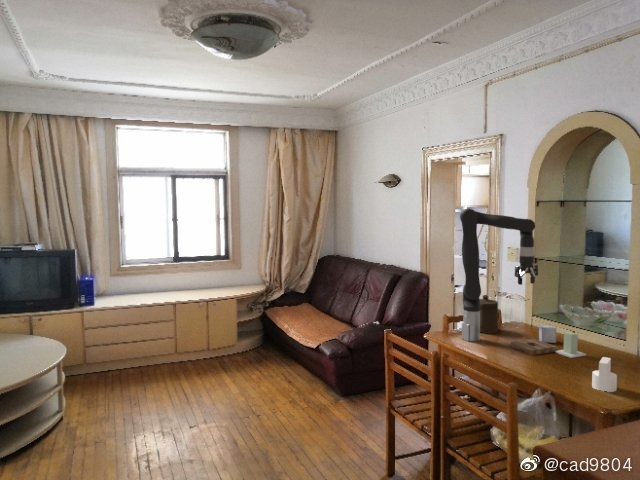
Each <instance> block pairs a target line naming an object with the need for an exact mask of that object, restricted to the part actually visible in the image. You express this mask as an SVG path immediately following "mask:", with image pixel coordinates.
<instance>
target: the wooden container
mask: <svg viewBox="0 0 640 480" xmlns="http://www.w3.org/2000/svg"><path fill="white" fill-rule="evenodd" d="M479 301H480V332H482V333H481V334H495V333H498V331H499V329H498V328H499V314H498V313H499V301H497V300H493V299H489V296H488V295H487V294H484V295H482V298H479Z"/></svg>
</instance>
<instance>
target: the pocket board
mask: <svg viewBox="0 0 640 480" xmlns="http://www.w3.org/2000/svg"><path fill="white" fill-rule="evenodd" d="M509 344H510V347H511V348H513V349H516V350H519V351H521V352H524V353H526V354H529V355H532V356H535V355H536V356H537V355H541V354H542V355H543V354H548V353H549V354H550V353H556V352H555V351H557V350H558V349H557V347H558V346H555V345H553V344H550V343H545V342H542V341H539V339H536V338H528V339H523V340H515V341H510V343H509Z"/></svg>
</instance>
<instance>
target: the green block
mask: <svg viewBox="0 0 640 480" xmlns="http://www.w3.org/2000/svg"><path fill="white" fill-rule="evenodd" d="M578 340H579V335H578V333H576V332H573V331H567V332H566V331H565V332H563V349H562V350H563V352H566V353H569V354H575V353H577V351H578V346H579V345H578Z"/></svg>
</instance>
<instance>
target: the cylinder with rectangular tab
mask: <svg viewBox="0 0 640 480" xmlns="http://www.w3.org/2000/svg"><path fill="white" fill-rule="evenodd" d="M611 360H612V359H611V357H606V356H602V358H601V359H600V360H599V362H598V370H597V369H596V370H594V371H593V370H592V373H591V375H592V376H591V379H592V380H591V387H592V388H593V389H594V390H596V389H597V391H599V390H601V391H600V392H604V391H607V392H606V393H615V392H617V390H618V389H617V387H618V385H617V384H618V375H617V374H616V373H615V372H612V371H611V364H612V363H611V362H612V361H611ZM614 391H615V392H614Z"/></svg>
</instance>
